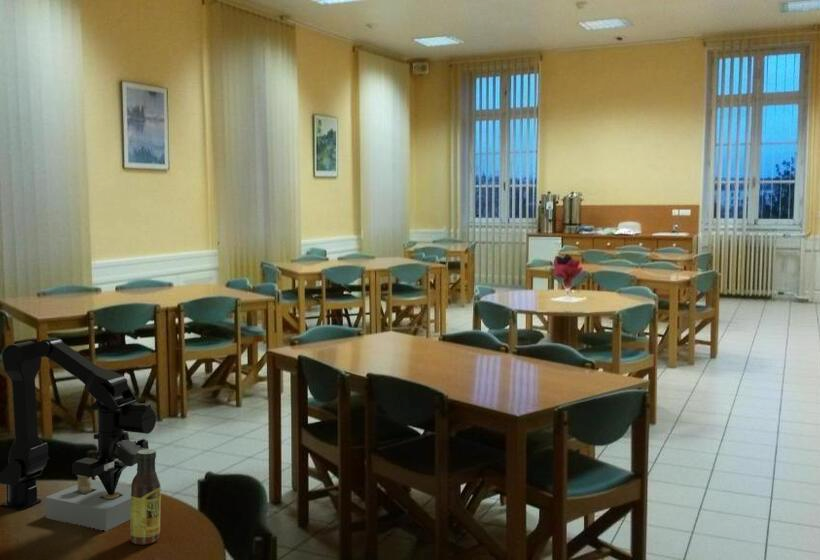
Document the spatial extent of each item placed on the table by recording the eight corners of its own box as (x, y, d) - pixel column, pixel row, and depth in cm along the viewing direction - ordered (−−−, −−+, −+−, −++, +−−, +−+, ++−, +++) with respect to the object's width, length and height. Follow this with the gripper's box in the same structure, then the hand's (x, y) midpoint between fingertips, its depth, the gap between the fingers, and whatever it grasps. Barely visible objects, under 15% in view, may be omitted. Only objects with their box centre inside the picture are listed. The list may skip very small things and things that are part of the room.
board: (45, 517, 183) (45, 497, 182) (90, 498, 196) (90, 479, 195) (106, 531, 176) (106, 509, 176) (148, 510, 189) (148, 490, 189)
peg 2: (99, 518, 184) (99, 495, 183) (110, 513, 187) (110, 490, 186) (111, 520, 182) (111, 497, 182) (122, 515, 186) (122, 493, 185)
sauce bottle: (150, 547, 168) (150, 457, 167) (124, 544, 170) (124, 454, 168) (166, 535, 175) (166, 448, 173) (140, 532, 176) (140, 446, 174)
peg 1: (73, 496, 186) (73, 473, 186) (84, 491, 190) (84, 469, 189) (85, 498, 185) (84, 475, 184) (96, 493, 188) (96, 471, 188)
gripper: (108, 444, 171) (109, 513, 173) (165, 424, 189) (165, 487, 190) (69, 437, 175) (70, 505, 177) (128, 418, 193) (128, 480, 194)
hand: (111, 494), depth 184 cm, fingers closed, pressing on peg 2
